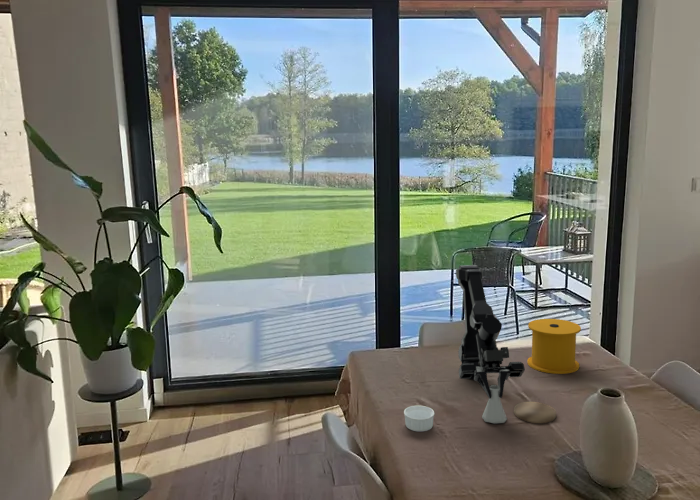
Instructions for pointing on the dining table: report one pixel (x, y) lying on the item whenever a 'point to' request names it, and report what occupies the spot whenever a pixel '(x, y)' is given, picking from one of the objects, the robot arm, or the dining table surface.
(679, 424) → the dining table surface
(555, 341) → the spool
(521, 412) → the brass disc
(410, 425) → the ramekin
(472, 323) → the robot arm
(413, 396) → the dining table surface
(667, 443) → the dining table surface
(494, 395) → the flask
